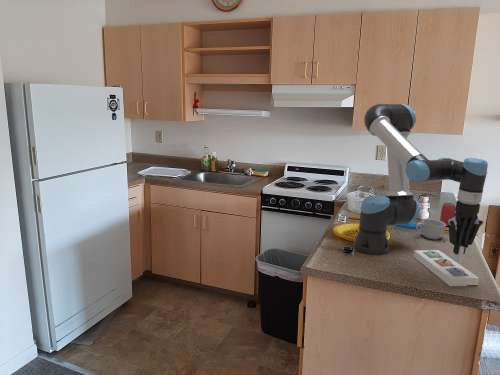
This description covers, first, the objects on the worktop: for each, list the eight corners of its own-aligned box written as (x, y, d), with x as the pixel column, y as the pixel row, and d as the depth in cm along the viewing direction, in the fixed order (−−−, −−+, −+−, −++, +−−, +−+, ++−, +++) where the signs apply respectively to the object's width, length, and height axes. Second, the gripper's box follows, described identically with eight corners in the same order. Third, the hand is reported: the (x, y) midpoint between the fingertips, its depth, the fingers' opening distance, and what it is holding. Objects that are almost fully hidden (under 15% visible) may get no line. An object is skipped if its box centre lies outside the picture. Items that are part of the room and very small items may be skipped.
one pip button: (429, 262, 158) (430, 255, 157) (423, 257, 163) (424, 250, 162) (441, 262, 159) (442, 255, 158) (434, 257, 164) (435, 250, 163)
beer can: (436, 223, 211) (440, 202, 208) (448, 223, 212) (451, 202, 209) (443, 227, 205) (447, 205, 202) (455, 227, 205) (459, 205, 202)
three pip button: (441, 271, 151) (442, 263, 150) (434, 265, 155) (435, 258, 155) (453, 271, 151) (454, 263, 150) (445, 265, 156) (446, 258, 155)
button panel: (449, 286, 140) (451, 278, 140) (413, 256, 165) (414, 250, 165) (477, 285, 141) (479, 278, 141) (437, 256, 166) (438, 250, 166)
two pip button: (453, 280, 143) (454, 272, 142) (445, 274, 148) (446, 267, 147) (466, 280, 143) (467, 272, 143) (457, 274, 148) (459, 266, 147)
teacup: (438, 234, 194) (441, 219, 192) (447, 242, 184) (449, 226, 182) (410, 232, 196) (412, 217, 194) (417, 240, 185) (419, 224, 183)
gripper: (458, 204, 134) (446, 266, 140) (492, 204, 136) (480, 266, 142) (445, 198, 141) (435, 257, 147) (478, 198, 143) (467, 257, 149)
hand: (457, 261), depth 144 cm, fingers closed
